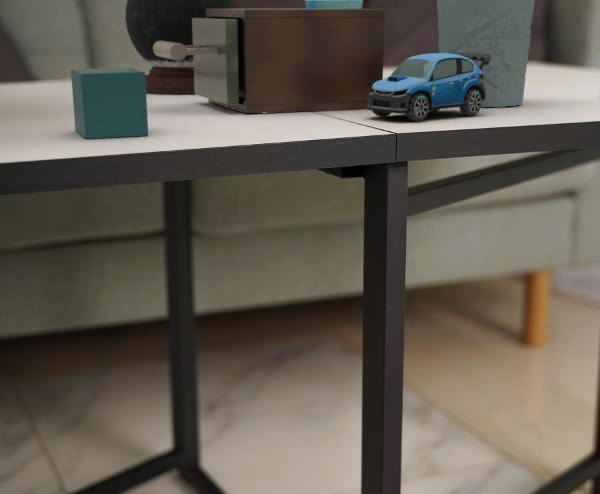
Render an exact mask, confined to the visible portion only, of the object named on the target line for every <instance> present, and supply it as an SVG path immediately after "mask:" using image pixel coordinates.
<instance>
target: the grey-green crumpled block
mask: <svg viewBox="0 0 600 494" xmlns="http://www.w3.org/2000/svg"><path fill="white" fill-rule="evenodd" d="M535 3H536V0H436V8H437V10H436V11H437V20H438V21H437V23H438V24H437V25H438V27H437V28H438V51H439V52H438V53H450V54H452V53H478V54H490V55H491V60H490V62H489V63H488V65H484V66H483V67H482V72H483V80H484V84H485V87H486V98H485V100H482V106H481V107H497V108H507V107H506V106H514V107H517V106H516V105H520V106H522V104H523V101H524V94H525V88H526V87H525V86H526V74H527V65H528V61H529V53H530V46H531V34H532V30H531V28H532V27H531V26H532V23H533V15H534V10H535ZM466 58H473V57H466ZM477 59H481V58H478V57H477ZM472 61H473V62H474V63H475V64H476V65H477V66H478V67H479V66H480V65H481V63H482V61H478V60H472Z"/></svg>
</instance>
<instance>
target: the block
mask: <svg viewBox="0 0 600 494" xmlns="http://www.w3.org/2000/svg"><path fill="white" fill-rule="evenodd" d="M70 75H71V77H70V78H71V89H72V91H71V92H72V104H73V116H74V130H75V132H76V133H77V134H79V136H82V137H83V138H84V139H86V140H93V139H111V138H129V137H146V136H147V137H148V136H149V123H148V121H149V120H148V102H147V101H148V100H147V93H146V79H145V75H146V71H144V70H140V69H136V68H134V67H115V68H114V67H113V68H112V67H111V68H110V67H109V68H108V67H107V68H76V69H75V68H73V69H72V68H71V69H70Z"/></svg>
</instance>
